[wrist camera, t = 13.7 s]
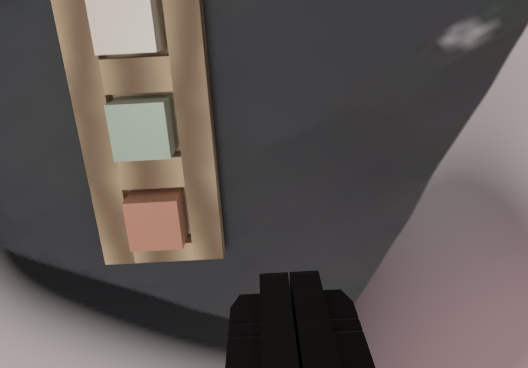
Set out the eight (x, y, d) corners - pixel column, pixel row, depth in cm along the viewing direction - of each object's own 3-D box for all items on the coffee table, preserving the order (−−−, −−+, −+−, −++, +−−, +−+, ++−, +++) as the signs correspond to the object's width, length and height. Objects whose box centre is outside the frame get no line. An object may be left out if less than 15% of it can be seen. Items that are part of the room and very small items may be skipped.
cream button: (158, -13, 37) (147, -17, 33) (166, 48, 39) (156, 52, 35) (99, -10, 37) (82, -13, 33) (110, 51, 39) (94, 55, 35)
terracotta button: (183, 185, 44) (176, 201, 40) (188, 230, 45) (182, 249, 42) (133, 187, 44) (121, 203, 40) (140, 232, 45) (130, 252, 42)
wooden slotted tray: (197, -48, 37) (194, -52, 35) (225, 246, 47) (223, 258, 45) (55, -40, 37) (41, -44, 35) (112, 252, 47) (105, 264, 45)
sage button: (172, 94, 40) (163, 102, 37) (178, 146, 42) (171, 159, 38) (117, 96, 40) (103, 105, 37) (126, 149, 42) (114, 162, 38)
